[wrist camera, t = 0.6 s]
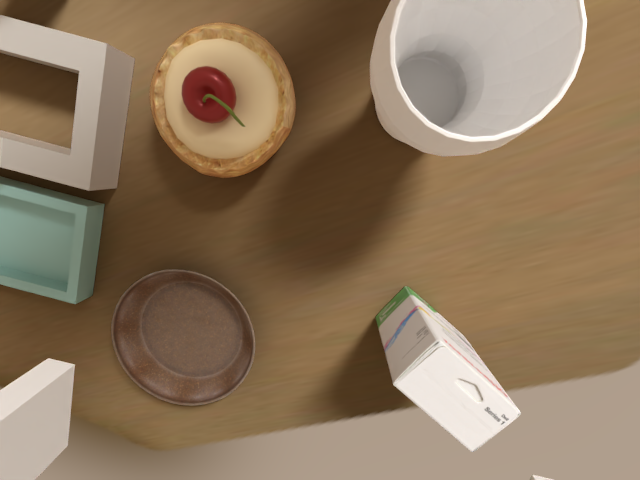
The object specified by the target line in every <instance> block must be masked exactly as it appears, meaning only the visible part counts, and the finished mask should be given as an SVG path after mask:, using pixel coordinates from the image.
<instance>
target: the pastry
mask: <svg viewBox="0 0 640 480" xmlns="http://www.w3.org/2000/svg"><path fill="white" fill-rule="evenodd" d="M150 105H151V111H152V115H153V118H154V121H155V124H156V127H157V129H158V131H159V134H160V135H161V137H162V138H163V139H164V141H165V142H166V144H167V145H168V146H169V147H170V148H171V150H172V151H173V152H174V153H175V154H176V155H177V156H178V157H179V158H180V159H181V160H182V161H184V162H185V163H186V164H188V165H189V166H191V167H192V168H194V169H195V170H197V171H198V172H200V173H202V174H205V175H209V176H214V177H221V178H228V177H236V176H240V175H244V174H246V173H249V172H251V171H253V170H255V169H256V168H258V167H259V166H261V165H262V164H264V163H265V162H266V161H267V160H268V159H269V158H271V157H272V156H273V155H274V154H275V153H276V152H277V150H278V149H279V148H280V147H281V146H282V144H283V143H284V141H285V140H286V138H287V137H288V135H289V133H290V131H291V129H292V126H293V122H294V118H295V111H296V101H295V93H294V87H293V82H292V79H291V76H290V74H289V71H288V69H287V67H286V65H285V63H284V61H283V59H282V57H281V56H280V55H279V53H278V52H277V51H276V50H275V48H274V47H273V46H272V45H271V44H270V43H269V42H268V41H267V40H266V39H265V38H263V37H262V36H260V35H259V34H257V33H256V32H254V31H252V30H250V29H248V28H246V27H243V26H239V25H236V24H231V23H230V24H229V23H222V22H220V23H209V24H205V25H201V26H197V27H195V28H192V29H190V30H189V31H187V32H185V33H184V34H183V35H181V36H180V37H178V38H177V39H176V40H175V41H174V42H173V43H172V44H171V45H170V46H169V48H168V49H167V50H166V52H165V53H164V55H163V56H162V58H161V60H160V61H159V63H158V64H157V66H156V69H155V72H154V74H153V77H152V81H151V85H150Z"/></svg>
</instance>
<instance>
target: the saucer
mask: <svg viewBox="0 0 640 480" xmlns="http://www.w3.org/2000/svg"><path fill="white" fill-rule="evenodd" d="M111 335H112V342H113V347H114V351H115V353H116V356H117V358H118V361H119V362H120V364H121V366H122V368H123V369H124V371H125V372H126V373H127V375H128V376H129V377H130V378H131V379H132V380H133V381H134V382H135V383H136V384H137V385H138V386H139V387H140V388H142V389H143V390H145V391H146V392H148V393H149V394H151V395H153V396H154V397H156V398H158V399H161V400H163V401H166V402H169V403H173V404H178V405H188V406H195V405H204V404H208V403H212V402H215V401H218V400H220V399H222V398H224V397H226V396H228V395H229V394H230V393H232V392H233V391H234V390H235V389H237V388H238V386H239V385H240V384H241V383H242V382H243V380H244V379H245V378H246V376H247V375H248V373H249V371H250V369H251V366H252V363H253V360H254V355H255V335H254V329H253V326H252V323H251V320H250V318H249V315H248V314H247V312H246V310H245V308H244V307H243V305H242V304H241V302H240V301H239V300H238V299H237V297H236V296H235V295H234V294H233V293H232V292H231V291H230V290H228V289H227V288H226V287H225V286H223V285H222V284H220V283H219V282H217V281H215V280H214V279H212V278H210V277H207V276H205V275H203V274H200V273H196V272H192V271H188V270H177V269H173V270H162V271H158V272H154V273H151V274H149V275H147V276H144V277H143V278H141V279H139V280H138V281H136V282H135V283H134V284H132V285H131V286H130V287H129V288H128V289H127V290H126V291H125V292H124V294H123V295H122V296H121V298H120V300H119V302H118V304H117V306H116V308H115V311H114V314H113V319H112V325H111Z"/></svg>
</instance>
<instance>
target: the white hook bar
mask: <svg viewBox="0 0 640 480" xmlns="http://www.w3.org/2000/svg"><path fill="white" fill-rule="evenodd" d="M0 53H3V54H7V55H10V56H14V57H18V58H22V59H25V60H29V61H33V62H36V63H40V64H44V65H48V66H51V67H55V68H59V69H62V70H66V71H70V72H74V73H77V74H79V78H78V87H77V97H76V106H75V115H74V125H73V134H72V143H71V149H69V148H66V147H62V146H58V145H54V144H51V143H47V142H43V141H39V140H36V139H32V138H28V137H25V136H21V135H17V134H13V133H10V132H6V131H2V130H0V167H2V168H5V169H9V170H13V171H17V172H20V173H24V174H28V175H32V176H35V177H39V178H43V179H47V180H50V181H54V182H58V183H62V184H65V185H69V186H73V187H77V188H80V189H84V190H88V191H93V190H103V189H114V188H117V184H118V177H119V170H120V163H121V155H122V148H123V141H124V134H125V126H126V119H127V112H128V105H129V97H130V90H131V83H132V76H133V68H134V61H135V58H133V57H131V56H129V55H127V54H125V53H123V52H122V51H120V50H118V49H116V48H114V47H112V46H110V45H109V44H107V43H103V42H99V41H95V40H92V39H88V38H84V37H81V36H77V35H73V34H70V33H66V32H62V31H58V30H55V29H51V28H47V27H44V26H40V25H36V24H32V23H29V22H25V21H21V20H18V19H14V18H10V17H7V16H3V15H0Z"/></svg>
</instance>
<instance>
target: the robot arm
mask: <svg viewBox="0 0 640 480" xmlns="http://www.w3.org/2000/svg"><path fill="white" fill-rule="evenodd" d="M74 370H75V364H71V363H66V362H62V361H58V360H54V359H50V358H48V359H46V360H45V361H43V362H42V363H40V364H39V365H37V366H36V367H34V368H33V369H31V370H30V371H28V372H27V373H25V374H24V375H22V376H21V377H19V378H18V379H16V380H15V381H13V382H12V383H10V384H9V385H7V386H6V387H4V388H3V389H1V390H0V480H35V479H36V478H37V477H38V476H39V475H40V474H41V473H42V472H43V471H44V470H45V469H46V468H47V467H48V466H49V465H50V464H51V463H52V462H53V461H54V460H55V459H56V457H57V456H58V455H59V454H60V453H61V452H62V451H63V450H64V449H65V448H66V447H67V446H68V437H69V425H70V415H71V403H72V392H73V381H74ZM530 480H553V479H548V478H544V477H540V476H536V475H532V476H531V478H530Z"/></svg>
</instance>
